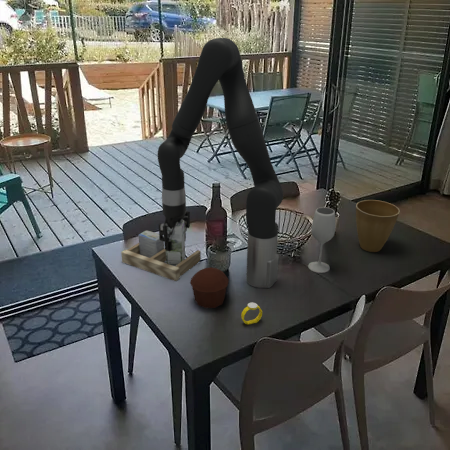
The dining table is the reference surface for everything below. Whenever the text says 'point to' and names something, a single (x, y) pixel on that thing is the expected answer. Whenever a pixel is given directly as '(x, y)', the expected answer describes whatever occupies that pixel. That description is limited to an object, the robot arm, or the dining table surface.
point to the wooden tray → (159, 262)
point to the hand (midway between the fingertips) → (175, 245)
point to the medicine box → (150, 243)
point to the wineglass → (322, 234)
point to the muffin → (209, 287)
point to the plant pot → (375, 223)
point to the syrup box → (176, 245)
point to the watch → (251, 307)
